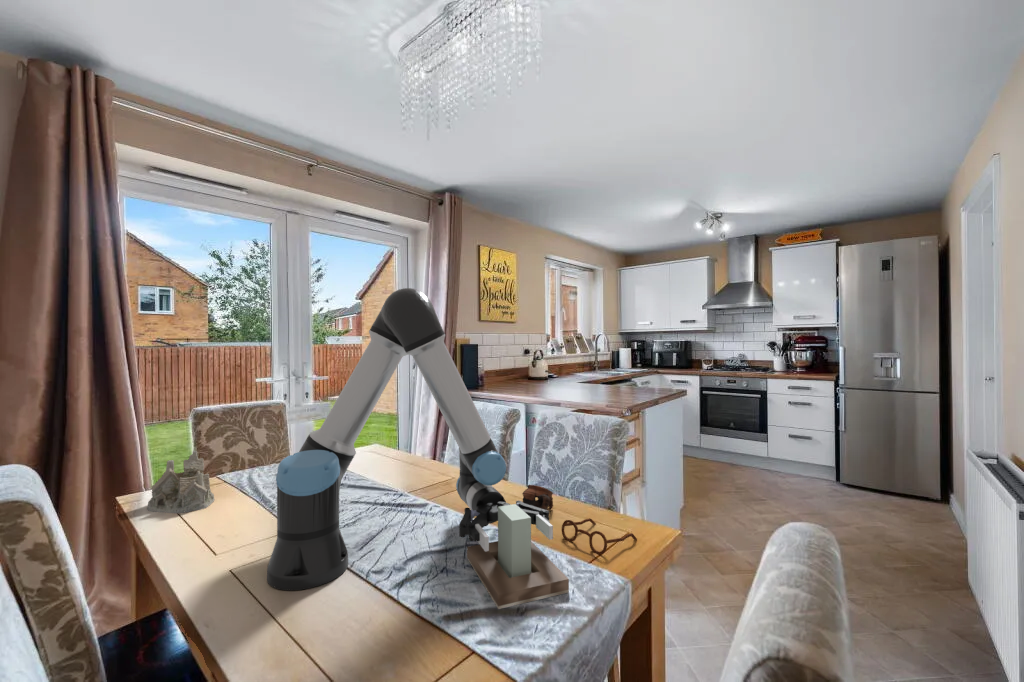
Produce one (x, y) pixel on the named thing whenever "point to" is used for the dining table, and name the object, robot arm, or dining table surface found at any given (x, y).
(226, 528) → the dining table surface
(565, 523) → the glasses
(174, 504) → the ceramic cottage
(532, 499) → the brown piece
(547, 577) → the taupe picture frame
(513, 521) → the grey-green rectangular block
